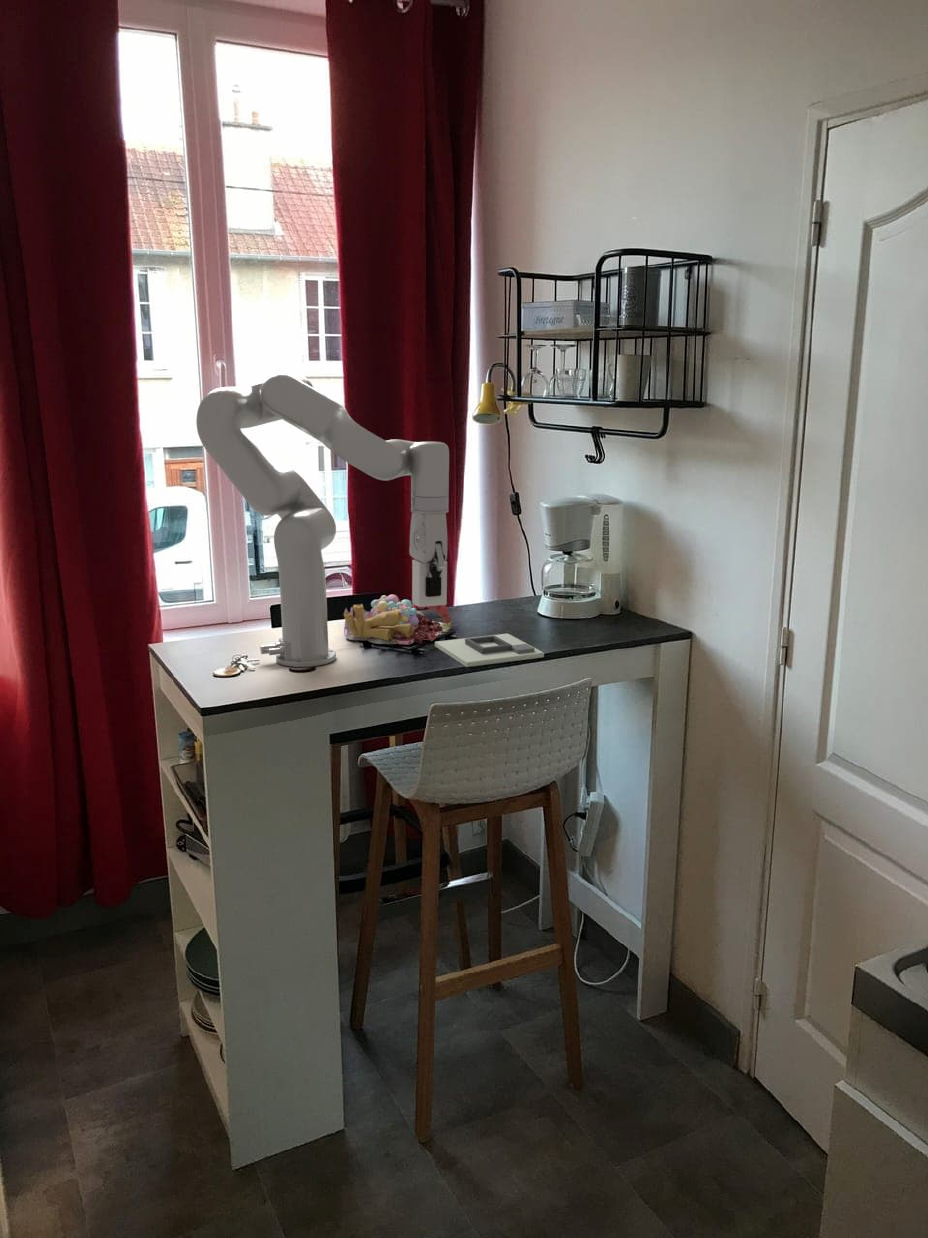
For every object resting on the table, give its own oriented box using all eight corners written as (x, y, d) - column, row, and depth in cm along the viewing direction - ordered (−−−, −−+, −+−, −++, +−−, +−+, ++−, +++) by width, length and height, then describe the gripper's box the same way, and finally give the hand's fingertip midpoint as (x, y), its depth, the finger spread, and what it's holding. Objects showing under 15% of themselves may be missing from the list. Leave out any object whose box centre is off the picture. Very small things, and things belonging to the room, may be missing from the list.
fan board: (466, 667, 201) (466, 656, 201) (434, 646, 217) (434, 636, 217) (543, 657, 208) (544, 647, 207) (507, 637, 224) (507, 628, 224)
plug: (419, 607, 197) (419, 553, 194) (412, 602, 200) (412, 550, 197) (446, 604, 199) (447, 551, 196) (439, 600, 202) (439, 548, 200)
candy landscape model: (428, 651, 214) (428, 610, 212) (329, 644, 220) (327, 605, 218) (458, 624, 238) (457, 587, 236) (367, 619, 244) (366, 583, 242)
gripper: (398, 500, 201) (398, 587, 205) (427, 510, 186) (426, 603, 190) (432, 498, 203) (431, 584, 208) (463, 509, 189) (461, 601, 193)
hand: (429, 592), depth 199 cm, fingers closed on plug, 4 cm apart
